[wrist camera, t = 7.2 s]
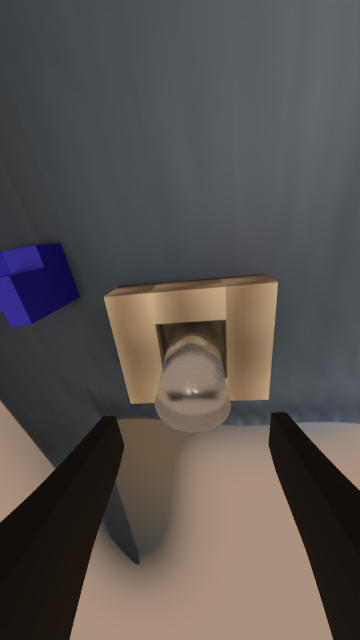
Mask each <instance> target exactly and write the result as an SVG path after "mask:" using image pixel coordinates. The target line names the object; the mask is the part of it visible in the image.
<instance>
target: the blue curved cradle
mask: <svg viewBox="0 0 360 640" xmlns="http://www.w3.org/2000/svg"><path fill="white" fill-rule="evenodd" d="M79 297H80V295H79V293H78V290H77V287H76V284H75V282H74V279H73V276H72V273H71V270H70V268H69V265H68V262H67V259H66V257H65V254H64V251H63V248H62V246H61V243H59V244H46V245H35V246H29V247H24V248H19V249H13V250H8V251H3V252H1V253H0V312H3V313H4V315H5V317H6V319H7V321H8V323H9V324H10V326H11V327H13V326H20V325H28V324H33V323H35V322H36V321H38V320H40V319H42V318H44V317H45V316H47V315H49V314H51V313H52V312H54V311H56V310H58V309H60V308H61V307H63V306H65V305H67V304H69V303H70V302H72V301H74V300H76V299H78V298H79Z"/></svg>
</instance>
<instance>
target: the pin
mask: <svg viewBox="0 0 360 640" xmlns="http://www.w3.org/2000/svg"><path fill="white" fill-rule="evenodd" d="M155 408H156V411H157V413H158V415H159V417H160V418H161V419H162V420H163V421H164V422H165V423H166V424H167V425H169V426H170V427H172V428H174V429H177V430H179V431H183V432H188V433H200V432H206V431H209V430H212V429H214V428H216V427H218V426H219V425H221V424H222V423H223V422H224V421H225V420H226V419H227V417H228V415H229V413H230V409H231V402H230V397H229V392H228V388H227V383H226V378H225V374H224V369H223V364H222V360H221V355H220V350H219V346H218V341H217V337H216V332H215V328H214V326H213V325H212V323H211V322H210V321H197V322H183V323H175V324H174V325H173V327H172V330H171V334H170V338H169V342H168V347H167V351H166V355H165V360H164V364H163V368H162V372H161V377H160V381H159V385H158V390H157V394H156V398H155Z"/></svg>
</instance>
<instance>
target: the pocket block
mask: <svg viewBox="0 0 360 640" xmlns="http://www.w3.org/2000/svg"><path fill="white" fill-rule="evenodd" d="M277 289H278V282H277V281H275V280H273V279H271V278H270V277H268V276H266V275H265V274H259V275H248V276H237V277H225V278H214V279H203V280H192V281H180V282H169V283H158V284H147V285H135V286H124V287H117V288H116V289H115V290H113V291H112V292H110V293H109V294H107V295H106V296H104V300H105V304H106V308H107V312H108V316H109V320H110V324H111V328H112V332H113V336H114V339H115V343H116V347H117V351H118V355H119V359H120V363H121V367H122V371H123V375H124V379H125V383H126V387H127V390H128V394H129V398H130V402H131V404H132V403H155V398H156V394H157V390H158V385H159V381H160V377H161V372H162V368H163V364H164V360H165V355H166V351H167V347H168V342H169V338H170V334H171V330H172V327H173V325H174V324H175V323H183V322H197V321H210V322H211V323H212V325H213V326H214V328H215V332H216V337H217V341H218V346H219V350H220V355H221V360H222V364H223V369H224V374H225V378H226V383H227V388H228V392H229V397H230V401H239V400H269V388H270V376H271V363H272V351H273V339H274V326H275V314H276V302H277Z"/></svg>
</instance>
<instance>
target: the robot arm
mask: <svg viewBox="0 0 360 640" xmlns="http://www.w3.org/2000/svg"><path fill="white" fill-rule="evenodd" d="M269 448H270V452H271V455H272V459H273V463H274V466H275V470H276V472H277V475H278V478H279V480H280V483H281V486H282V489H283V491H284V494H285V496H286V499H287V501H288V504H289V507H290V509H291V512H292V515H293V517H294V520H295V523H296V525H297V528H298V530H299V533H300V536H301V538H302V541H303V543H304V546H305V549H306V552H307V555H308V558H309V561H310V564H311V567H312V571H313V574H314V577H315V580H316V584H317V587H318V590H319V593H320V597H321V600H322V603H323V606H324V610H325V613H326V617H327V620H328V623H329V627H330V630H331V633H332V636H333V640H360V490H358V489H357V487H355V486H354V485H353V484H352V483H351V482H350V481H349V480H348V479H347V478H346V477H345V476H344V475H343V474H342V473H341V472H340V471H339V470H338V469H337V468H336V466H335V465H333V463H332V462H331V461H330V460H329V459H328V458H327V457H326V456H325V455H324V454H323V453H322V452H321V451H320V450H319V449H318V448H317V446H316V445H315V444H314V443H313V442H312V441H311V440H310V439H309V438H308V437H307V436H306V434H305V433H304V432H303V431H302V430H301V429H300V428H299V427H298V425H297V424H296V423H295V422H294V421H293V419H292V418H291V417H290V416H289V415H288V414H287V413H286V412H278V413H271V423H270V435H269ZM123 450H124V442H123V439H122V436H121V433H120V429H119V426H118V423H117V419H116V416H103V417H102V419H101V420H100V421H99V422H98V423H97V424H96V425H95V426H94V427H93V429H92V430H91V431H90V432H89V433H88V434H87V435H86V436H85V438H84V439H83V440H82V441H81V442H80V443H79V444H78V445H77V447H76V448H75V449H74V450H73V451H72V452H71V453H70V454H69V455H68V456H67V458H66V459H65V460H64V461H63V462H62V463H61V464H60V465H59V466H58V467H57V468H56V469H55V470H54V471H53V472H52V473H51V474H50V475H49V477H47V479H46V480H45V481H44V482H43V483H42V484H41V485H40V486H39V487H38V488H37V489H36V490H35V491H34V492H33V493H32V494H31V495H30V496H29V497H27V498H26V499H25V500H24V501H23V502H22V503H21V504H20V505H19V506H18V507H17V508H16V509H15V510H14V511H12V512H11V513H10V514H9V515H8V516H7V517H6V518H5V519H4V520H2V521H1V522H0V640H69V639H70V635H71V631H72V626H73V622H74V618H75V614H76V610H77V606H78V602H79V598H80V594H81V590H82V586H83V582H84V579H85V575H86V571H87V567H88V564H89V560H90V556H91V552H92V549H93V545H94V542H95V539H96V536H97V532H98V529H99V527H100V524H101V521H102V518H103V515H104V512H105V509H106V506H107V503H108V500H109V498H110V495H111V492H112V489H113V486H114V483H115V480H116V477H117V474H118V470H119V466H120V463H121V459H122V454H123Z"/></svg>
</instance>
